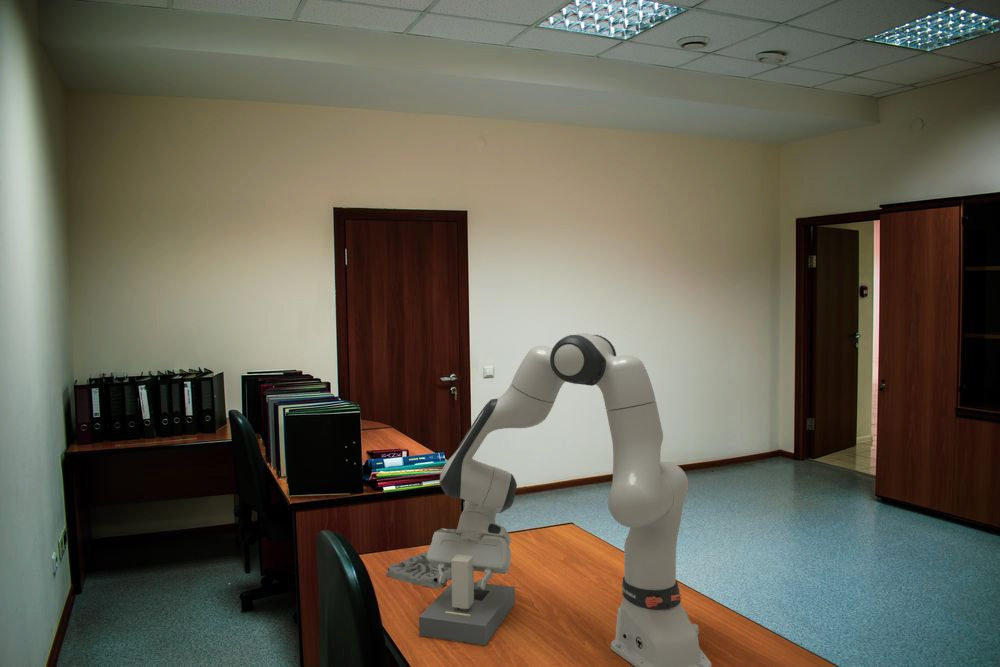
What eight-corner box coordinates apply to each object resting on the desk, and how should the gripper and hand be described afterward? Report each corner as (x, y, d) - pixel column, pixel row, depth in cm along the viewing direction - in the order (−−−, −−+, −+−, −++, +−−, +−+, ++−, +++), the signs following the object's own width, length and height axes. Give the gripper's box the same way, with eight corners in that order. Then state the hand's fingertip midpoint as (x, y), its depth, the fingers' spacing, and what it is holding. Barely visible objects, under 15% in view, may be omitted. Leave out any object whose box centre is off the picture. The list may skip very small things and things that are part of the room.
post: (457, 620, 169) (456, 553, 168) (475, 623, 168) (474, 555, 167) (451, 629, 165) (450, 560, 164) (469, 631, 163) (468, 562, 163)
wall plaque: (438, 592, 187) (438, 577, 187) (382, 578, 197) (382, 564, 196) (486, 562, 207) (486, 549, 207) (433, 551, 217) (433, 538, 217)
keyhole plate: (455, 596, 183) (454, 578, 182) (514, 604, 178) (514, 586, 177) (419, 635, 162) (418, 616, 161) (485, 645, 157) (485, 625, 156)
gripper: (431, 521, 174) (415, 575, 165) (511, 529, 168) (499, 585, 159) (439, 533, 179) (424, 587, 170) (517, 541, 172) (505, 597, 164)
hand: (461, 586), depth 164 cm, fingers open, 8 cm apart
